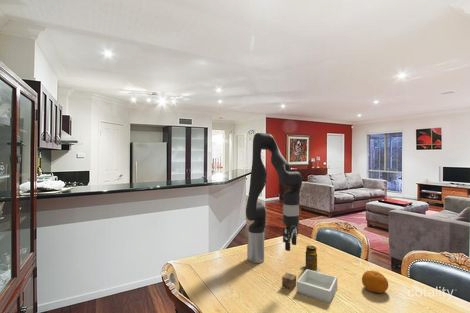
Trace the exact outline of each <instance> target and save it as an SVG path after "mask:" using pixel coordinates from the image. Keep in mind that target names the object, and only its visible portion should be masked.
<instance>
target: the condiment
mask: <svg viewBox="0 0 470 313" xmlns="http://www.w3.org/2000/svg"><path fill="white" fill-rule="evenodd" d="M305 248H306V250H305V266H304V265H303V266H302V267H299V269H300V270H302V271H304V272H305V271H306V269H308V270H312V271H316V272H320V270H321V268H318V252H317V247H316V246H314V245H306V247H305Z"/></svg>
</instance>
